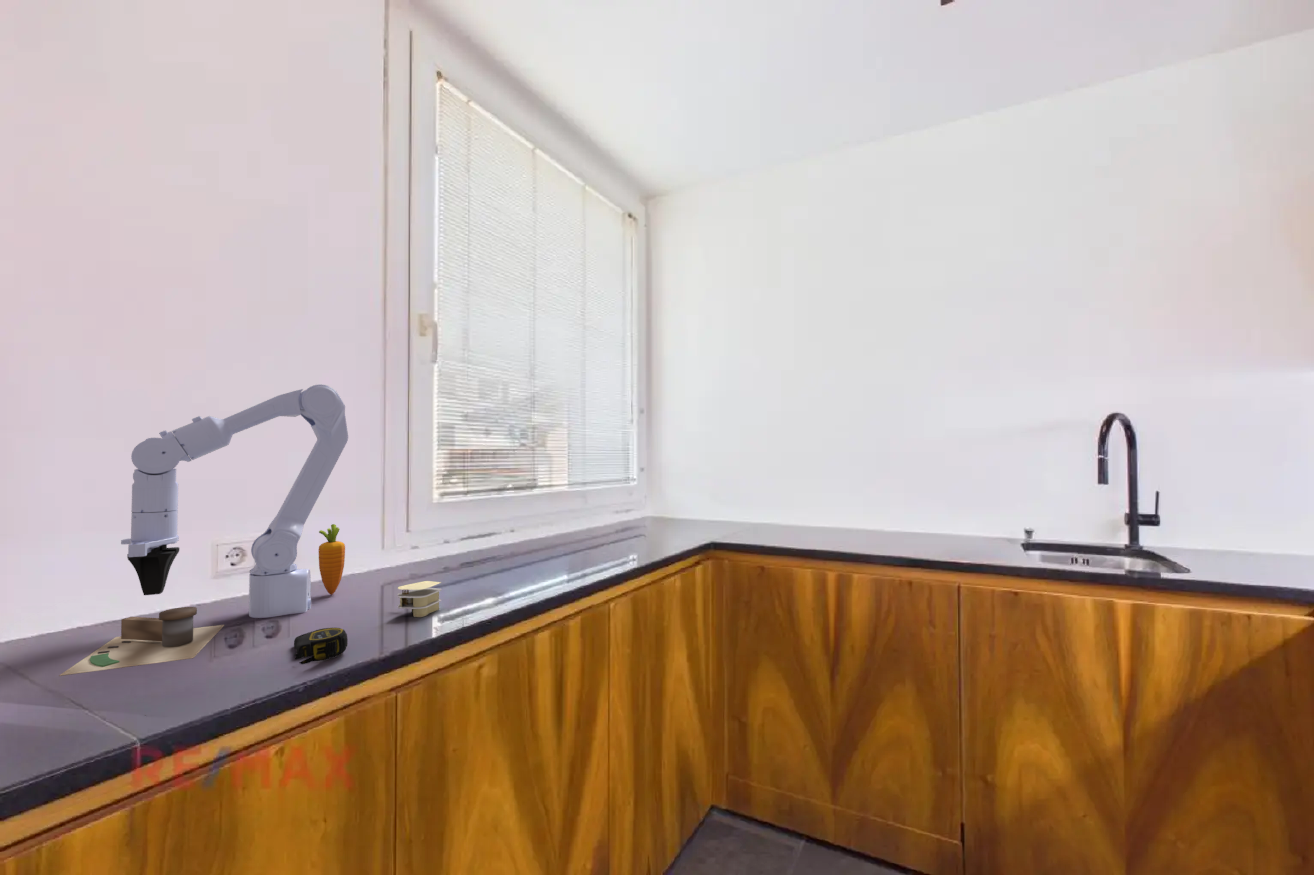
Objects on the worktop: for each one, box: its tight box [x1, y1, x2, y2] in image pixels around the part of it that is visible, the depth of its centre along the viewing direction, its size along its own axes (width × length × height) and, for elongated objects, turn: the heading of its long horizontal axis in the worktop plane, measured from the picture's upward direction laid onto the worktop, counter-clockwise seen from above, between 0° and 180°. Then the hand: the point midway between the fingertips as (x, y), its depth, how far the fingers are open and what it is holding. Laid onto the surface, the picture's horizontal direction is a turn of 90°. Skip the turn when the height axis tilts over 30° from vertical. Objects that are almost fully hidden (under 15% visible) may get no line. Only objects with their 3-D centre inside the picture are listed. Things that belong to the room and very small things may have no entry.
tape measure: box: [293, 627, 349, 665], centre depth 83 cm, size 7×7×4 cm
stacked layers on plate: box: [397, 580, 442, 618], centre depth 106 cm, size 10×9×6 cm
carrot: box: [318, 523, 346, 596], centre depth 120 cm, size 5×5×15 cm
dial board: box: [58, 624, 225, 677], centre depth 84 cm, size 14×17×2 cm
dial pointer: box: [120, 606, 198, 647], centre depth 86 cm, size 12×4×5 cm, turn 81°
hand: (153, 593), depth 92 cm, fingers closed
